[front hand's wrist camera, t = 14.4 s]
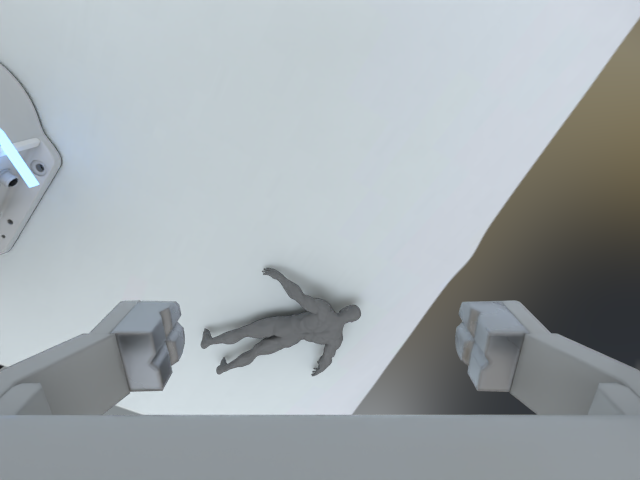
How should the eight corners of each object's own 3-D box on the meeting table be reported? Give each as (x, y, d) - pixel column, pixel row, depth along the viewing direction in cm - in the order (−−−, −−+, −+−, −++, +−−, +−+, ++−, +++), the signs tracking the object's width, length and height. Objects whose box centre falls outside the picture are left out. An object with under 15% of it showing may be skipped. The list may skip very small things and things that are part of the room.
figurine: (243, 386, 51) (378, 353, 47) (235, 411, 47) (382, 376, 43) (188, 290, 45) (337, 243, 41) (173, 309, 41) (337, 259, 38)
